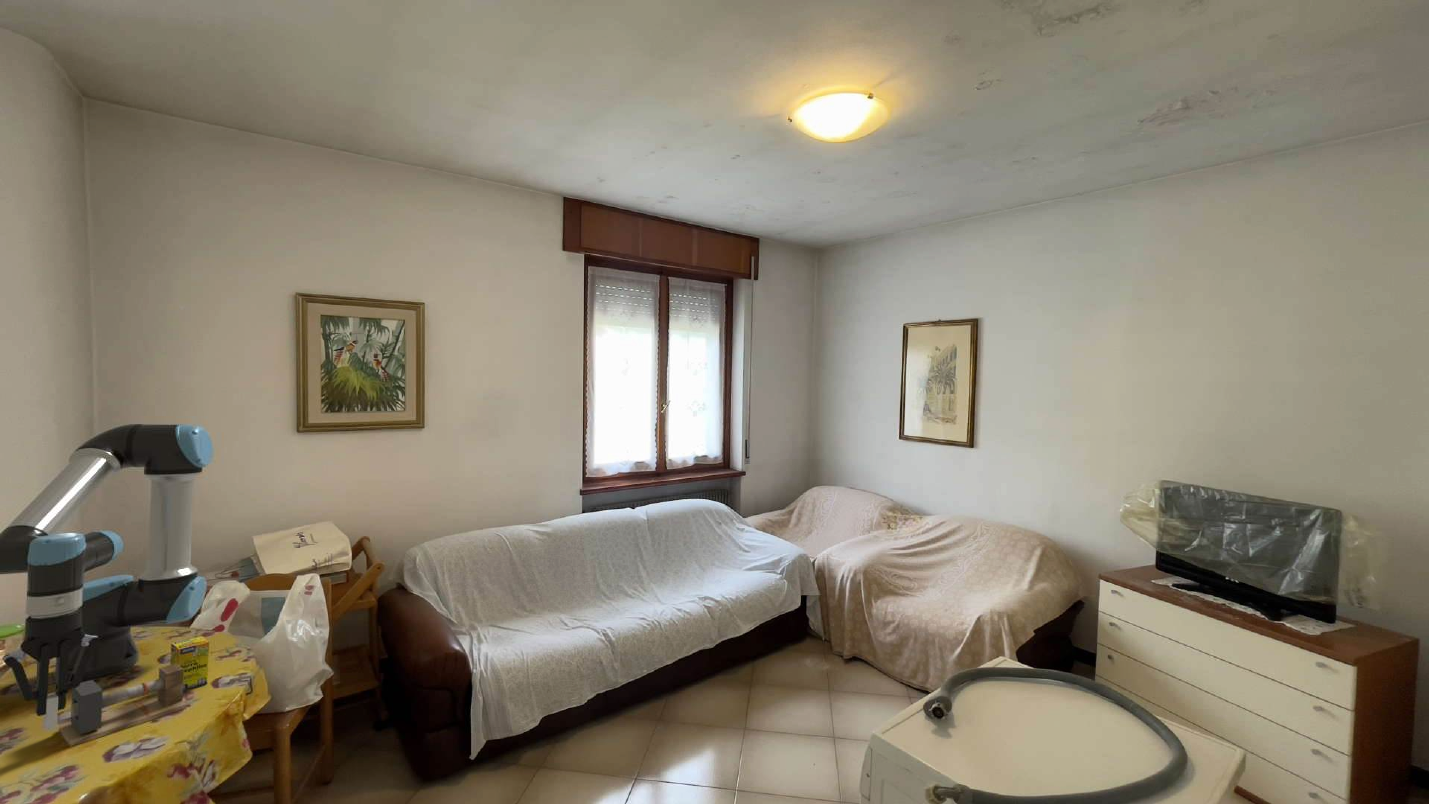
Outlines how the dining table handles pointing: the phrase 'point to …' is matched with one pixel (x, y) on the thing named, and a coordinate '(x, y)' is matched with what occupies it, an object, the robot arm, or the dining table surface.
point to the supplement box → (192, 661)
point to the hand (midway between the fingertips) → (50, 727)
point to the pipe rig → (134, 706)
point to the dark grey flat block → (87, 707)
